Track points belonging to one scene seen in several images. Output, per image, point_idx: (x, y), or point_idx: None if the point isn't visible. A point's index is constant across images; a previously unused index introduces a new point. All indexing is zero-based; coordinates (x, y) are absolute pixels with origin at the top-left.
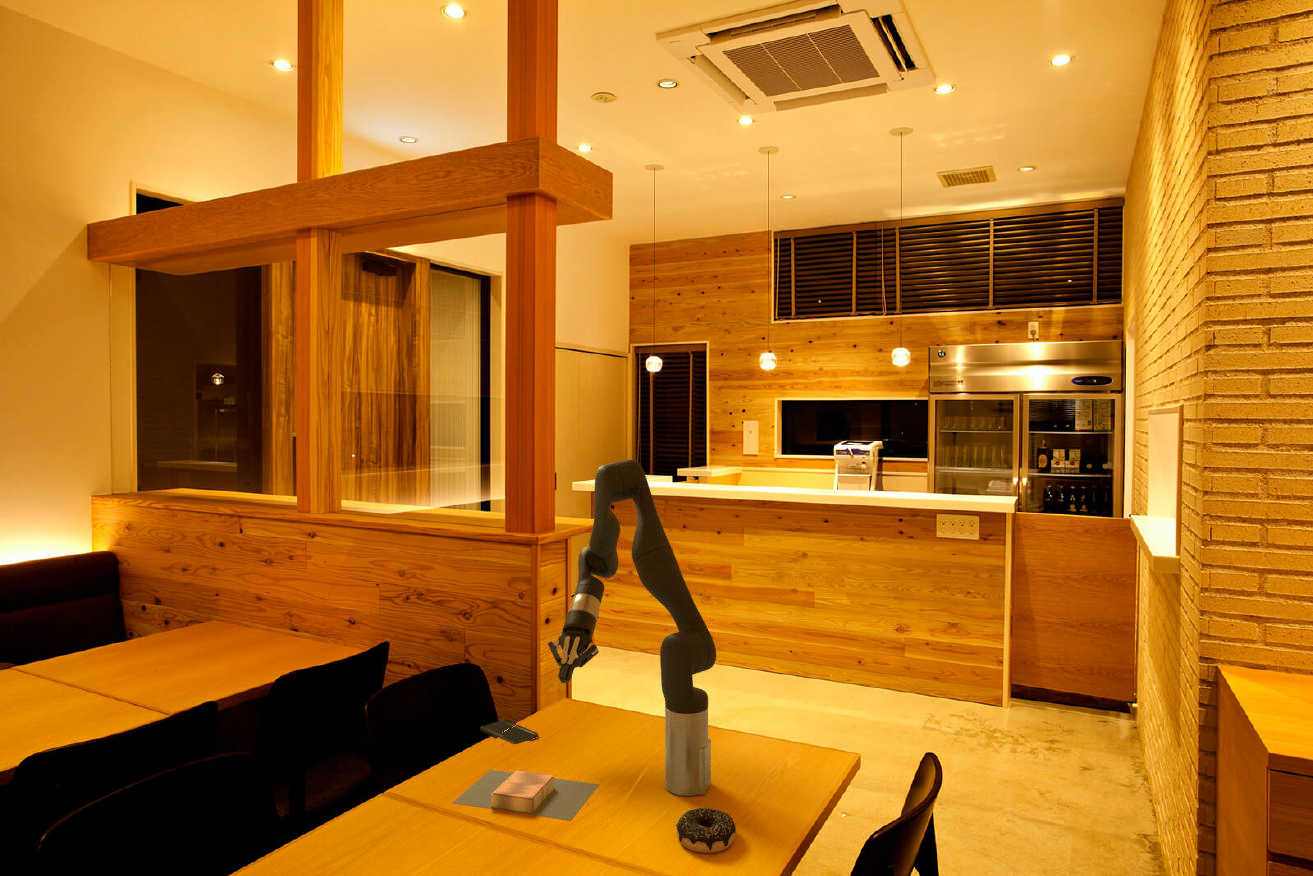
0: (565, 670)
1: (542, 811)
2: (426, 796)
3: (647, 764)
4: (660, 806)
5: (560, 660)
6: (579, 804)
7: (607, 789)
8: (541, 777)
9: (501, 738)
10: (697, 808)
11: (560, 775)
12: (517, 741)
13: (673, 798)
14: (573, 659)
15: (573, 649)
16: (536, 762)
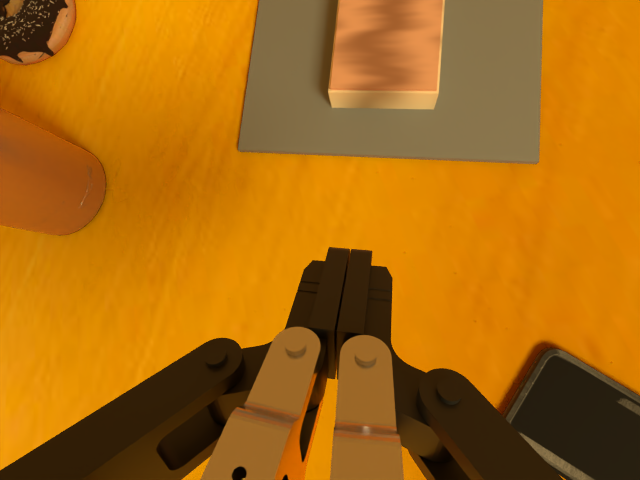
0: (335, 288)
1: (324, 11)
2: (632, 10)
3: (153, 285)
4: (111, 103)
5: (413, 395)
6: (258, 55)
7: (220, 144)
8: (355, 70)
9: (621, 385)
10: (17, 29)
11: (343, 186)
12: (550, 364)
13: (90, 138)
14: (262, 367)
15: (246, 477)
16: (432, 245)
